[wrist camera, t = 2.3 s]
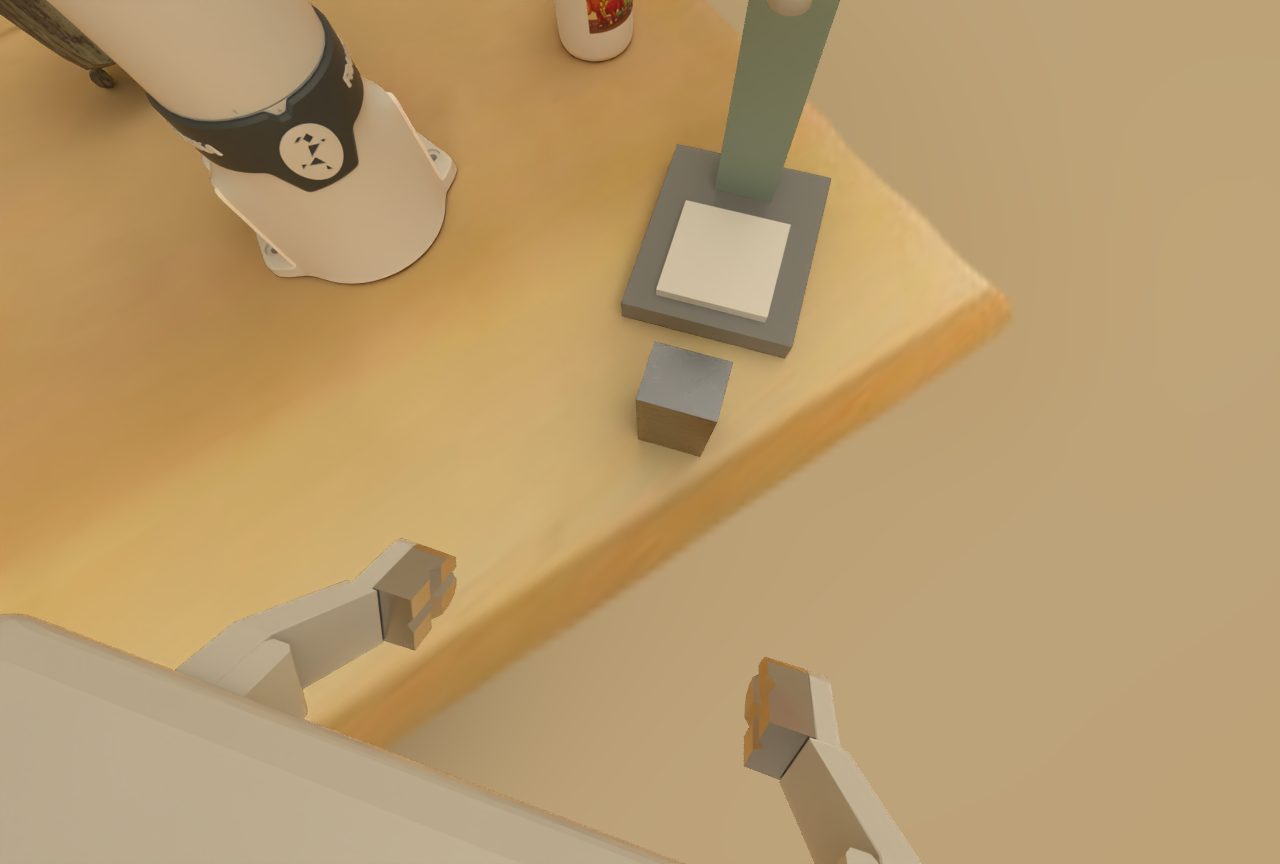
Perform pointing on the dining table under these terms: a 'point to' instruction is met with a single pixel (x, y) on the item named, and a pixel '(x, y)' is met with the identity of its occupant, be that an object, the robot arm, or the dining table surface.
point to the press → (742, 199)
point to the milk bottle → (594, 27)
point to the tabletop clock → (59, 36)
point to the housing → (680, 398)
